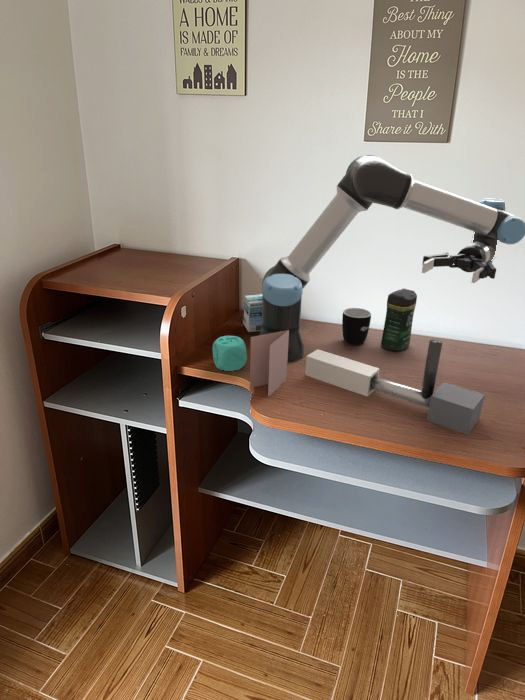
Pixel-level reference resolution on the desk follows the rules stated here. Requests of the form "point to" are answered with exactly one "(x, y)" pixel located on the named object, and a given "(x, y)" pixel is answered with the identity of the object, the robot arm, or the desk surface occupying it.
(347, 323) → the mug
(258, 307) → the light bulb box
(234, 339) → the decorative dice
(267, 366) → the greeting card
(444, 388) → the socket block
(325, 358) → the elongated cream cuboid
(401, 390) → the slide bolt
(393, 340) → the coffee jar
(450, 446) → the desk surface
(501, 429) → the desk surface
